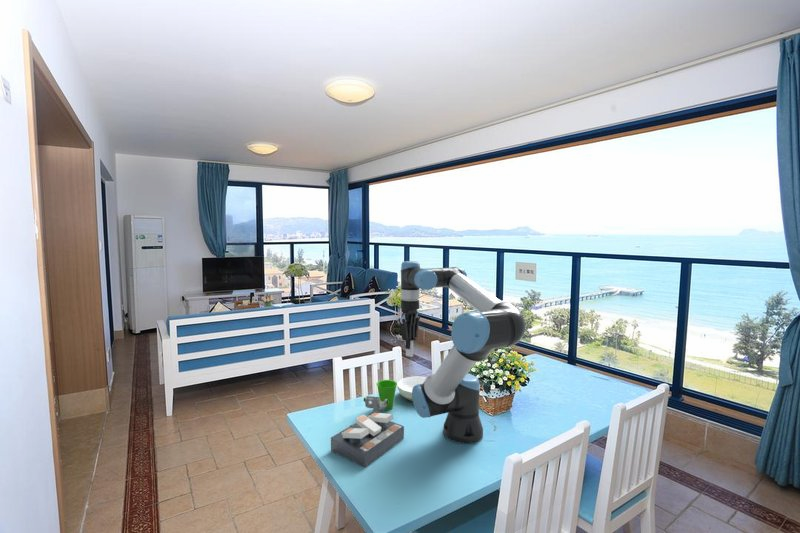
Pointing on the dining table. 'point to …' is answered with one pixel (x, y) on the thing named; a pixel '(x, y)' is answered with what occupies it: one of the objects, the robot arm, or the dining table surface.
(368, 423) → the rocker
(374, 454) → the console
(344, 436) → the block
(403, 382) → the bowl
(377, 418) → the block
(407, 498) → the dining table surface
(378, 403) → the mechanical component
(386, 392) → the cup
